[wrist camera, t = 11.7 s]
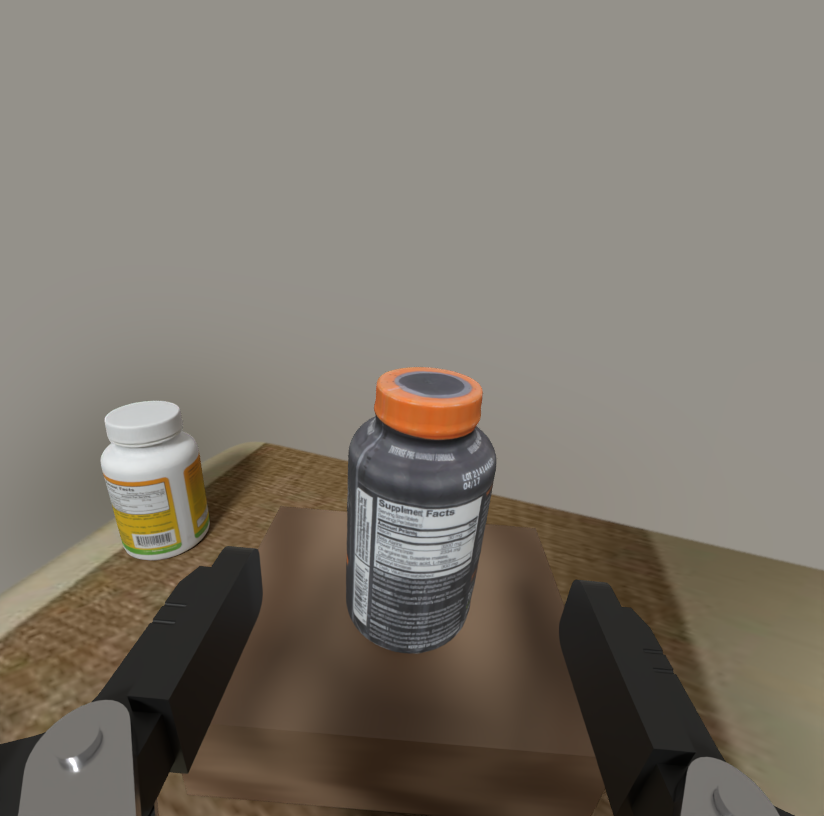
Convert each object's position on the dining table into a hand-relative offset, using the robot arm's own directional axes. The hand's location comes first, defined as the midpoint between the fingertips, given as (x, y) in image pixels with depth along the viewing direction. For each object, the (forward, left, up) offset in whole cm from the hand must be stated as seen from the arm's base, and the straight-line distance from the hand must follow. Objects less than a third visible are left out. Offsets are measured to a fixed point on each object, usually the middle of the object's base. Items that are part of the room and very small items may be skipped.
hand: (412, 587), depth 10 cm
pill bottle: (0, -7, -8) cm, 10 cm away
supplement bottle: (+17, -15, -13) cm, 26 cm away
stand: (0, -7, -13) cm, 15 cm away
